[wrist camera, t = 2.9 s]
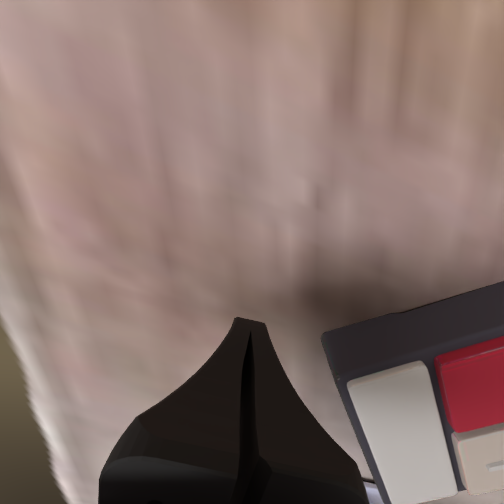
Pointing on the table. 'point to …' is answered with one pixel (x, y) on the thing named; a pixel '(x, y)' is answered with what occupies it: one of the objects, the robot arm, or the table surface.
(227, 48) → the table surface
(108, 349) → the table surface
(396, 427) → the calculator
